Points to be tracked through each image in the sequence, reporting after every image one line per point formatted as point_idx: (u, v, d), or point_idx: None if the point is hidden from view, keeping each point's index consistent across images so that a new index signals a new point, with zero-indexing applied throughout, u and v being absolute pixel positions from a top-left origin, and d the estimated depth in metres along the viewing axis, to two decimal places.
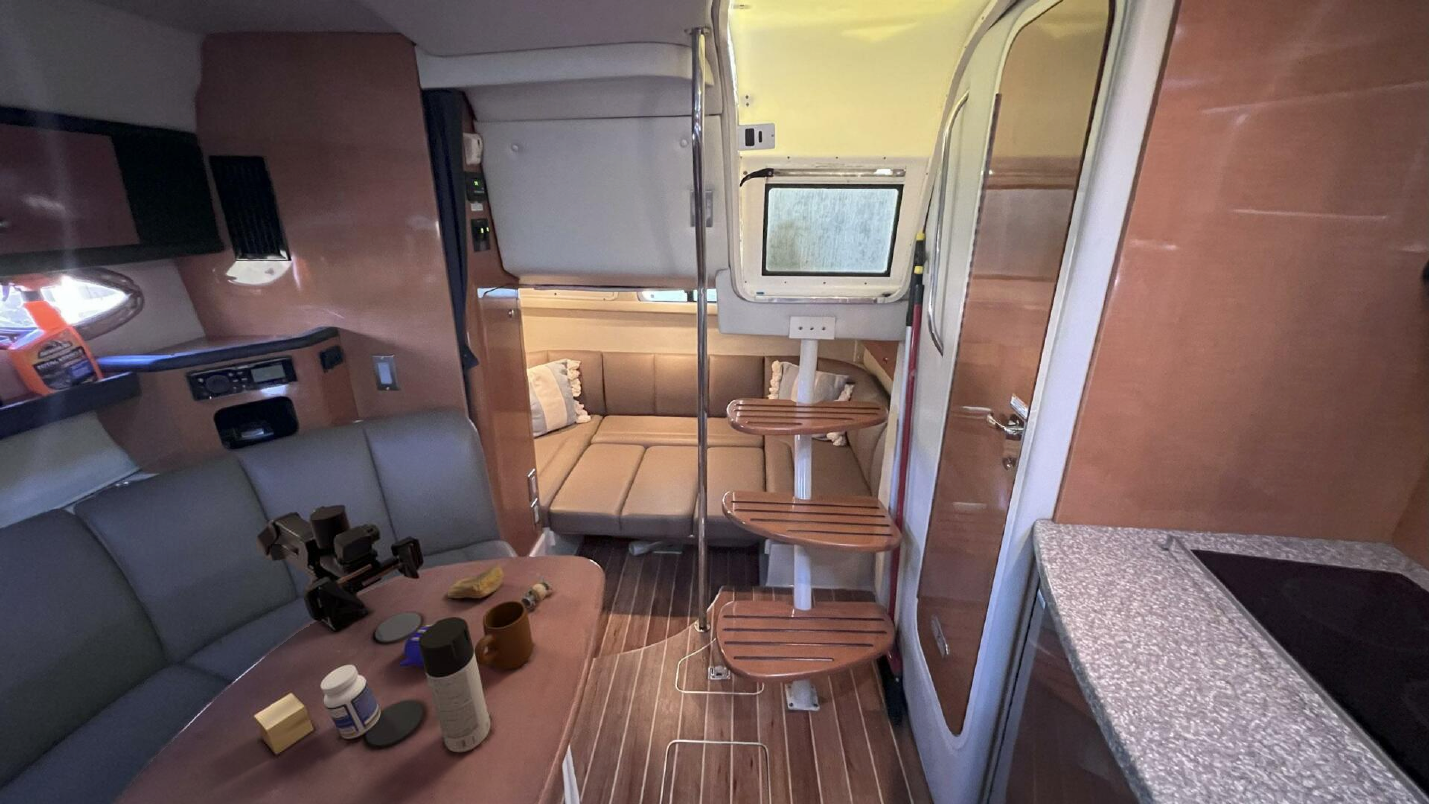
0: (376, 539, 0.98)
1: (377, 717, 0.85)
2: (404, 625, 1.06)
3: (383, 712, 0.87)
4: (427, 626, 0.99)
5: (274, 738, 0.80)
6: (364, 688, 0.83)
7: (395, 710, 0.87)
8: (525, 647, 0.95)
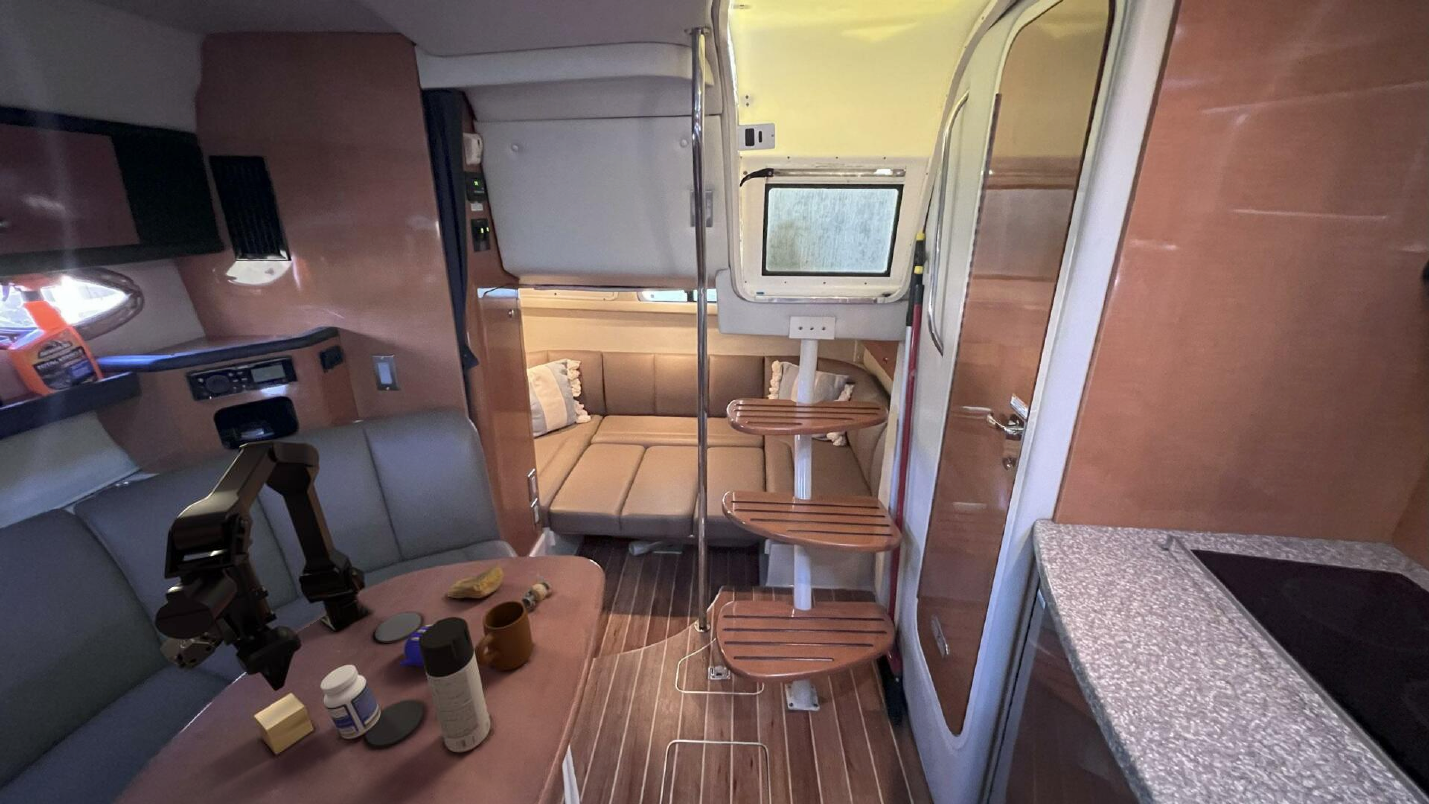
0: None
1: (377, 717, 0.85)
2: (404, 625, 1.06)
3: (383, 712, 0.87)
4: (427, 626, 0.99)
5: (274, 738, 0.80)
6: (364, 688, 0.83)
7: (395, 710, 0.87)
8: (525, 647, 0.95)
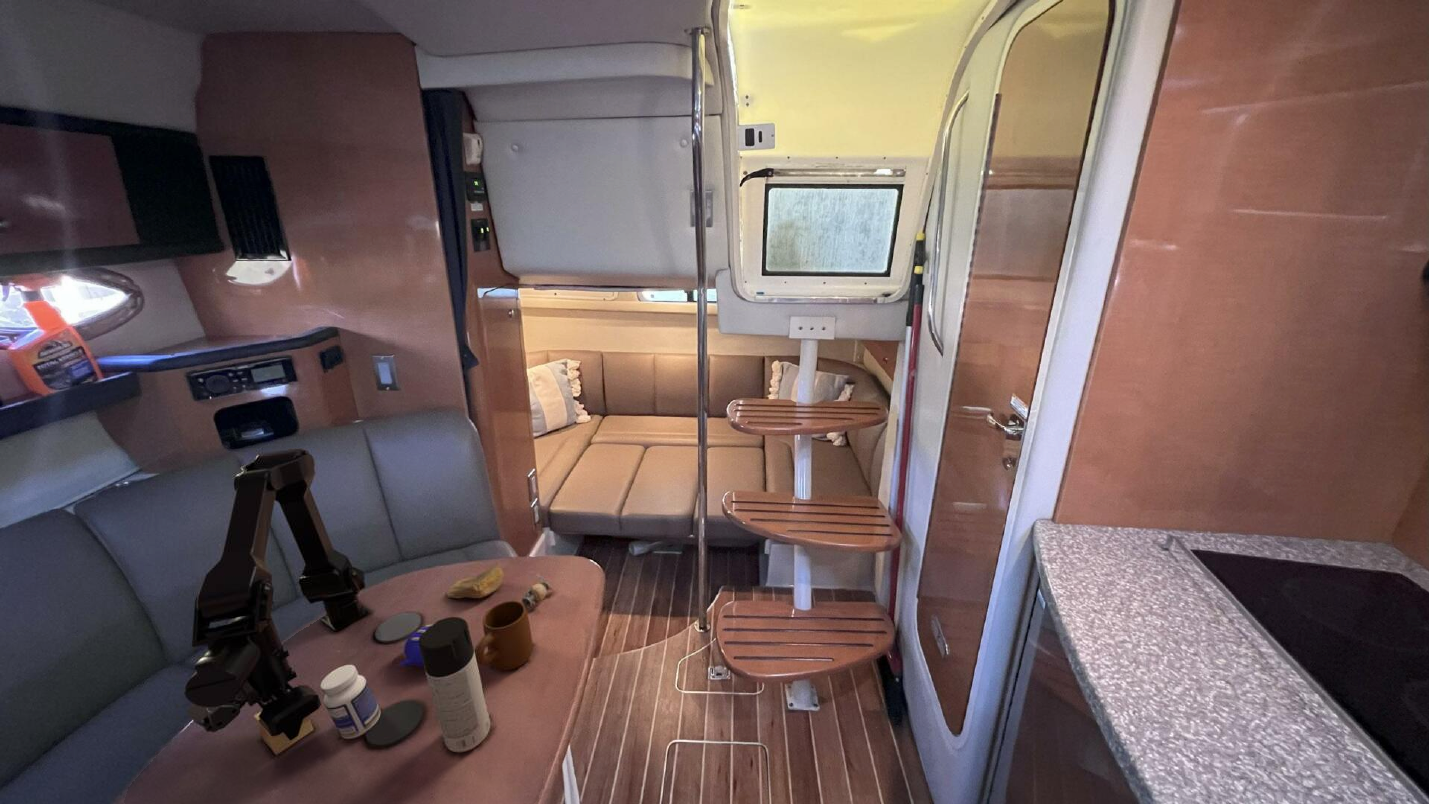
0: None
1: (377, 717, 0.85)
2: (404, 625, 1.06)
3: (383, 712, 0.87)
4: (427, 626, 0.99)
5: (274, 738, 0.80)
6: (364, 688, 0.83)
7: (395, 710, 0.87)
8: (525, 647, 0.95)
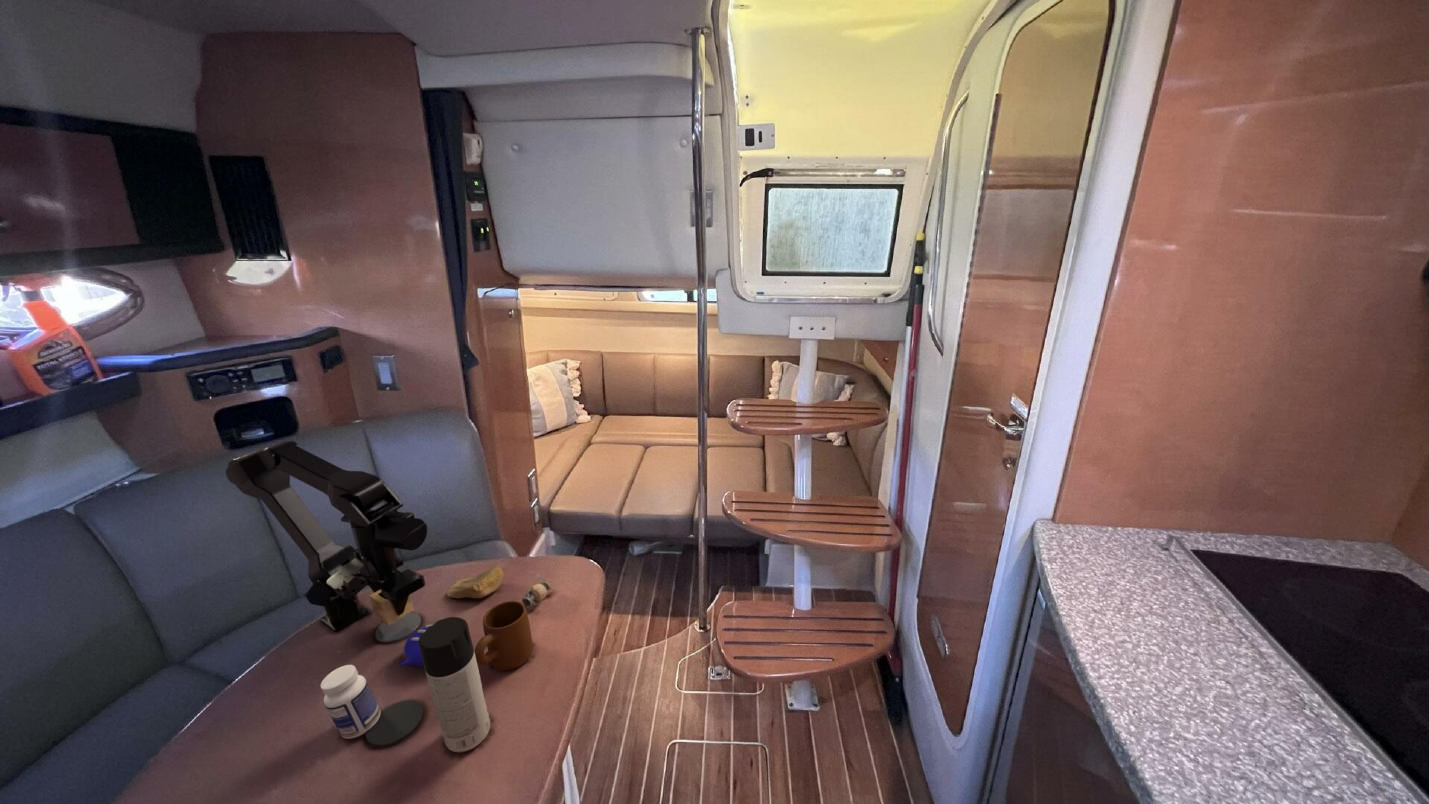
0: None
1: (377, 717, 0.85)
2: (404, 625, 1.06)
3: (383, 712, 0.87)
4: (427, 626, 0.99)
5: (387, 611, 1.01)
6: (364, 688, 0.83)
7: (395, 710, 0.87)
8: (525, 647, 0.95)
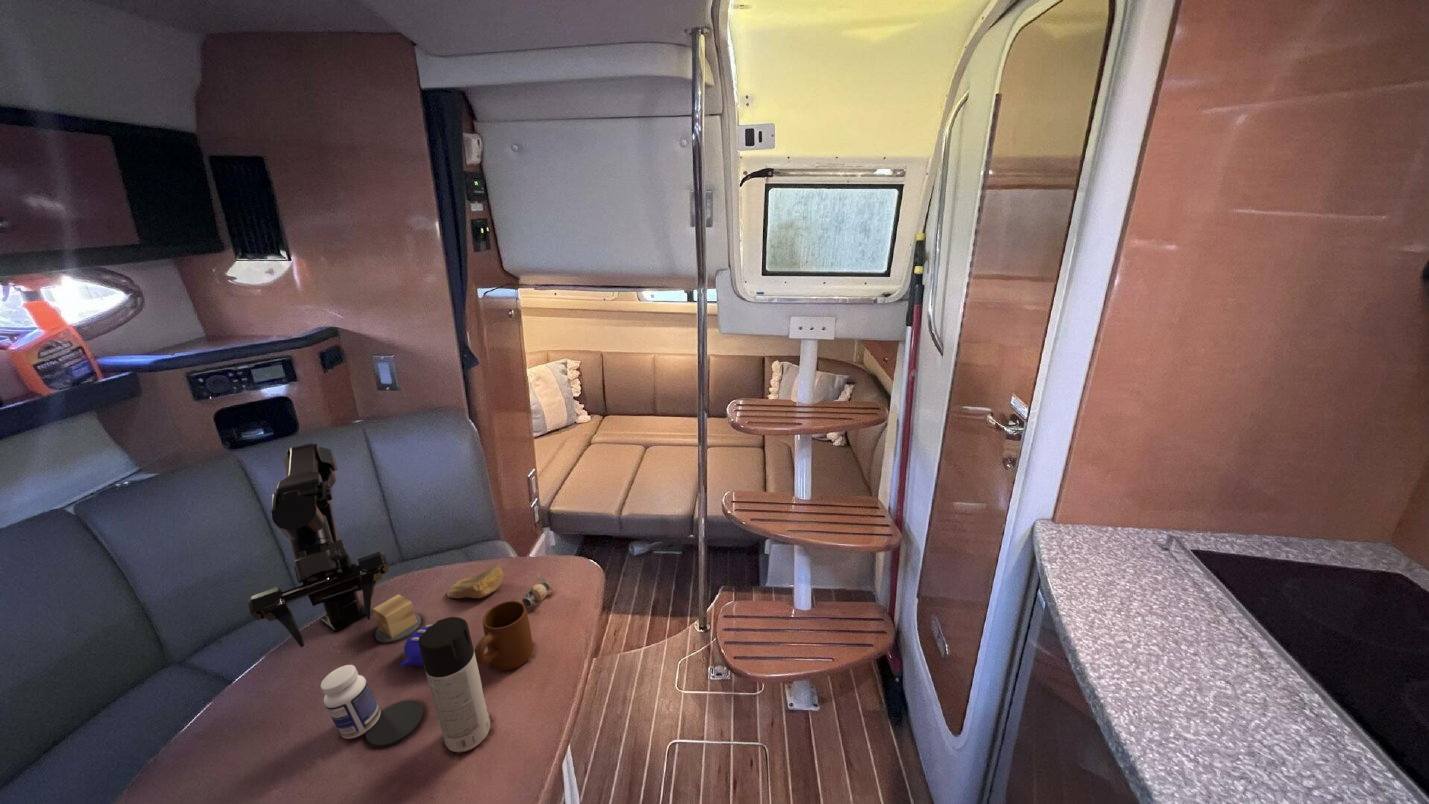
0: None
1: (377, 717, 0.85)
2: None
3: (383, 712, 0.87)
4: (427, 626, 0.99)
5: (390, 624, 1.02)
6: (364, 688, 0.83)
7: (395, 710, 0.87)
8: (525, 647, 0.95)
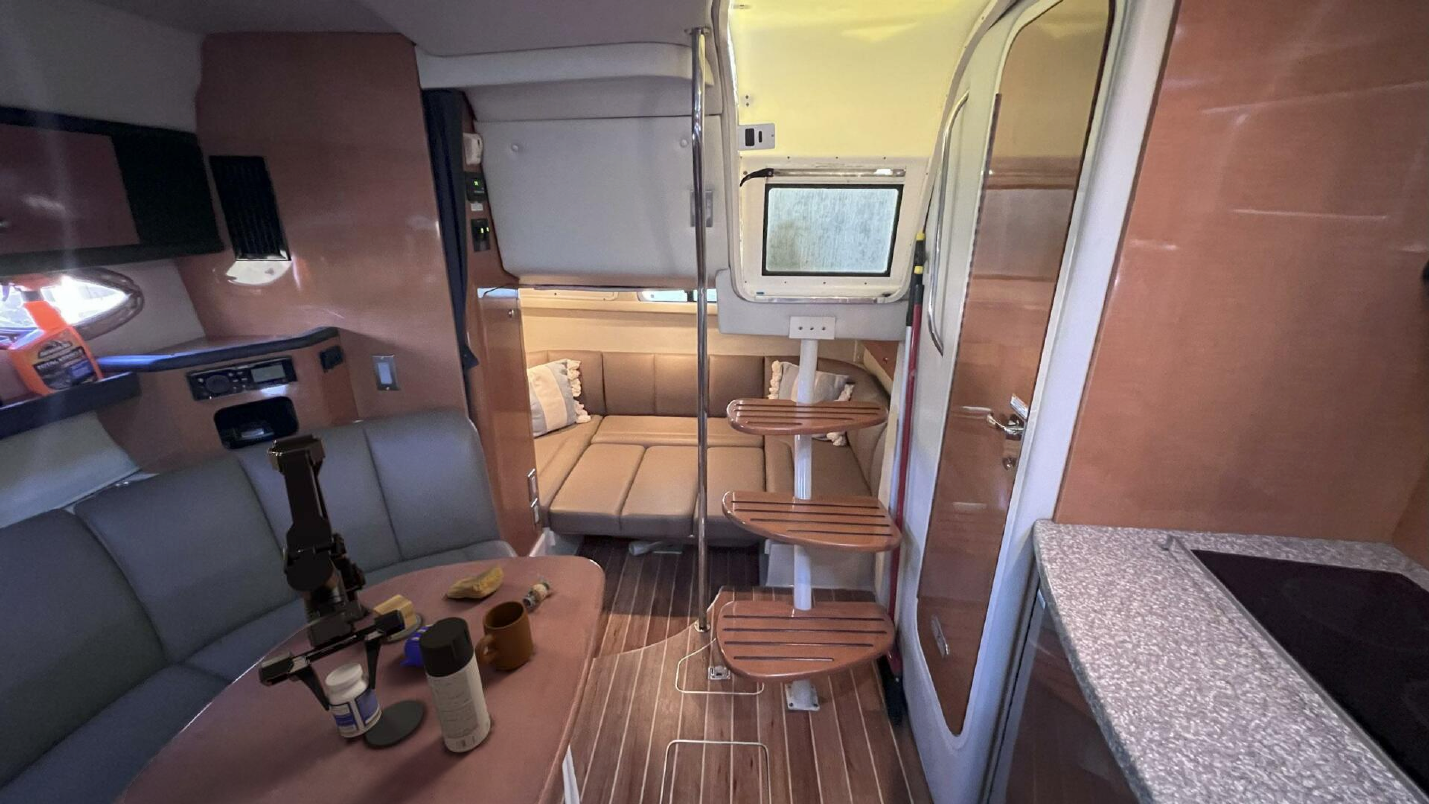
0: None
1: (378, 717, 0.85)
2: None
3: (383, 712, 0.87)
4: (427, 626, 0.99)
5: None
6: (368, 687, 0.83)
7: (395, 710, 0.87)
8: (525, 647, 0.95)
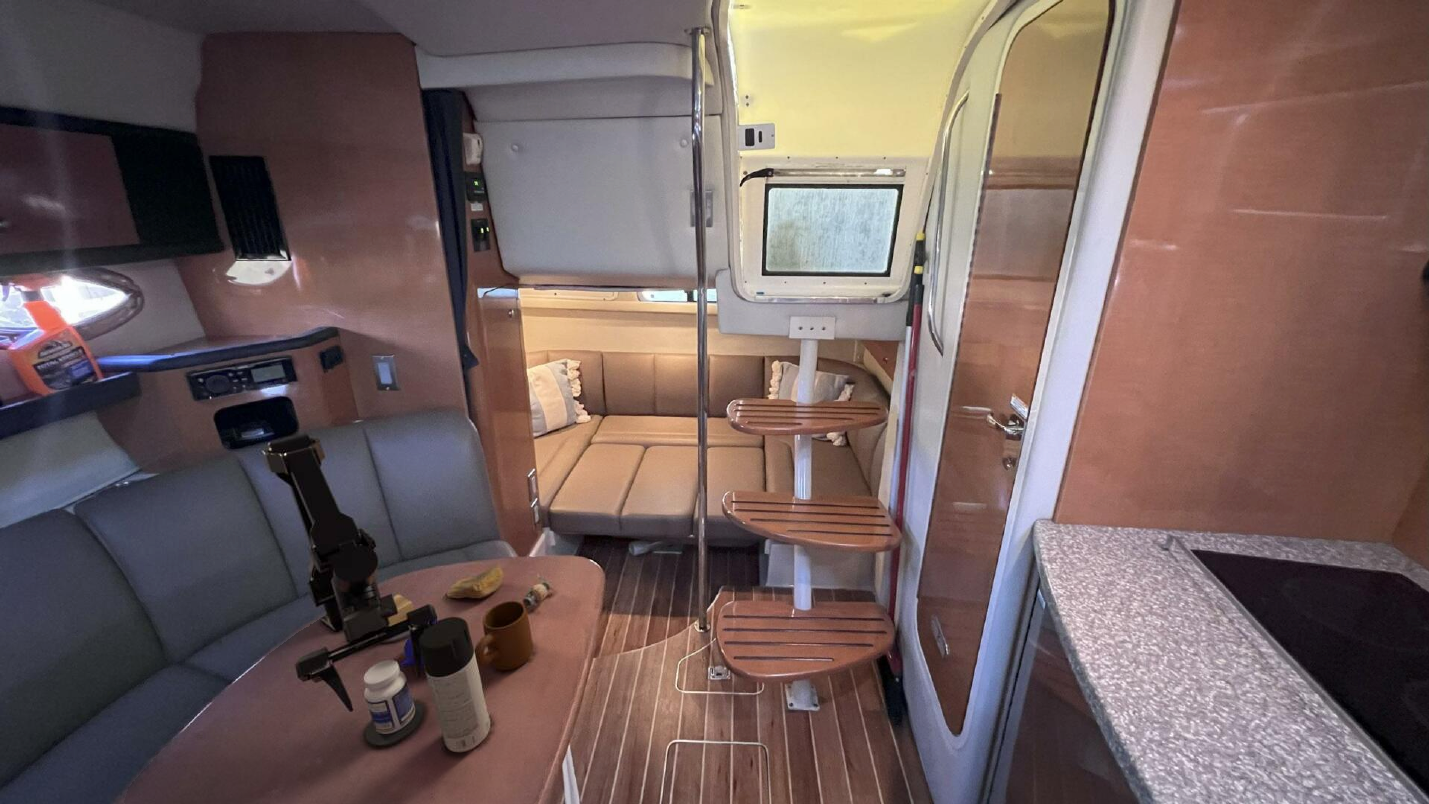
0: None
1: (412, 714, 0.85)
2: None
3: None
4: None
5: (390, 624, 1.02)
6: (405, 685, 0.84)
7: None
8: (525, 647, 0.95)
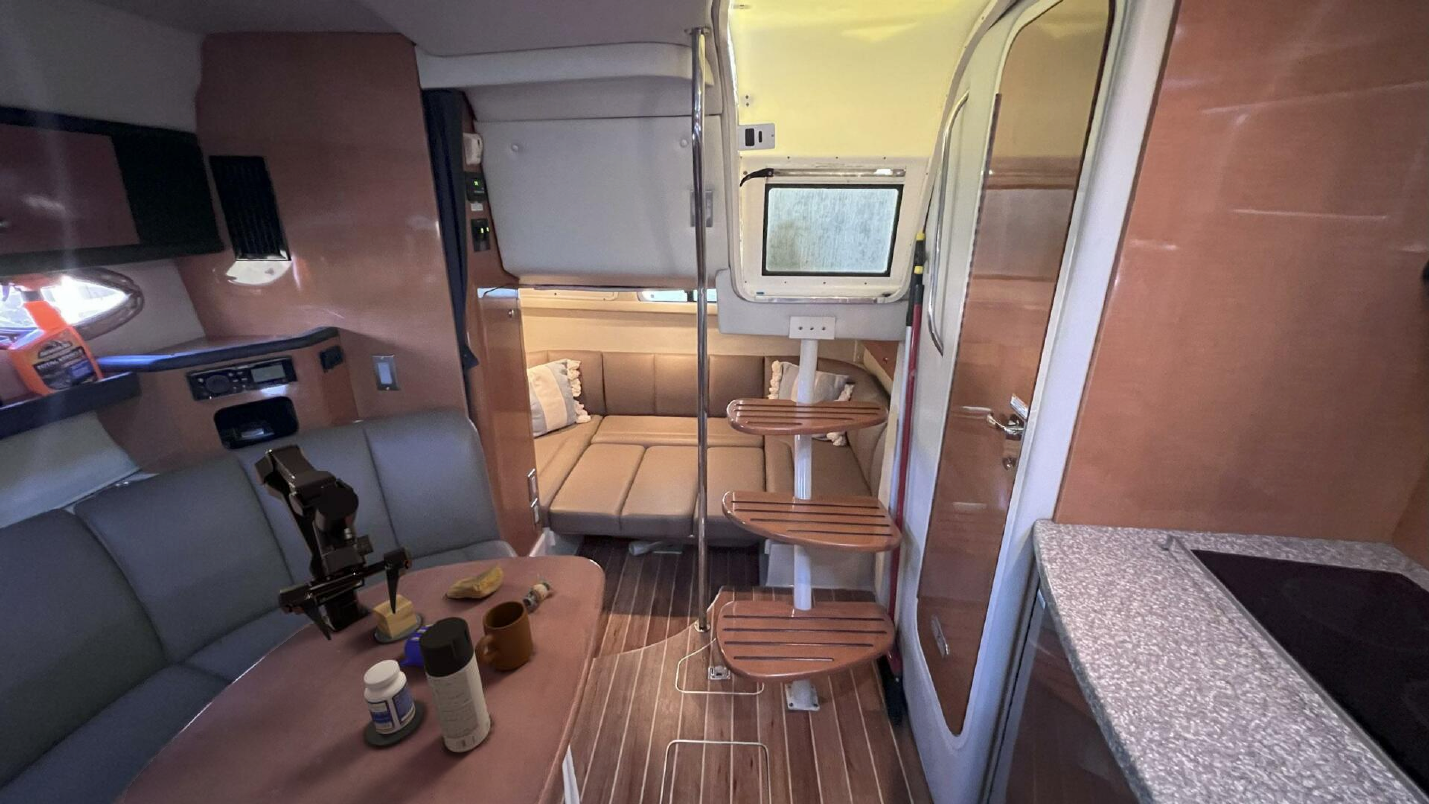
0: None
1: (412, 714, 0.85)
2: None
3: None
4: (427, 626, 0.99)
5: (390, 624, 1.02)
6: (405, 685, 0.84)
7: None
8: (525, 647, 0.95)
